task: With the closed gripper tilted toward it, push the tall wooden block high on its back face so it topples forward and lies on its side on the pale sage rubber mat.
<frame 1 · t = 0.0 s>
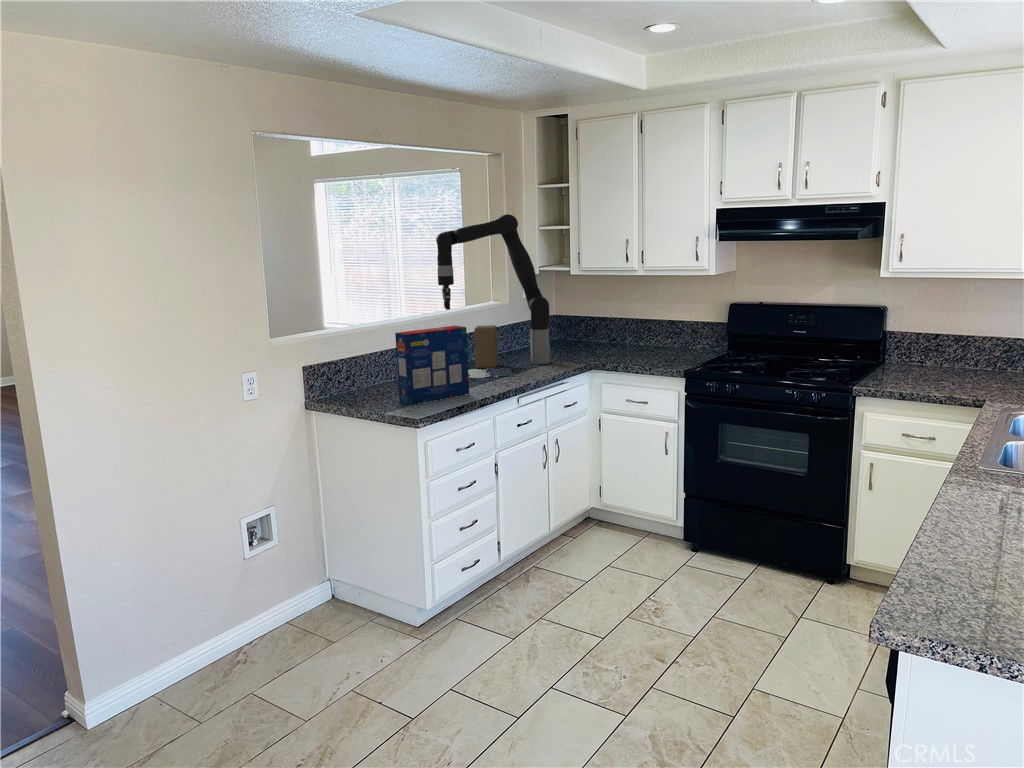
hand: (447, 308, 371), 29 cm above the worktop, tool pointing down, fingers open, 8 cm apart
mat: (489, 373, 361), on the worktop
wooden block: (487, 367, 378), on the worktop
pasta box: (435, 399, 311), on the worktop
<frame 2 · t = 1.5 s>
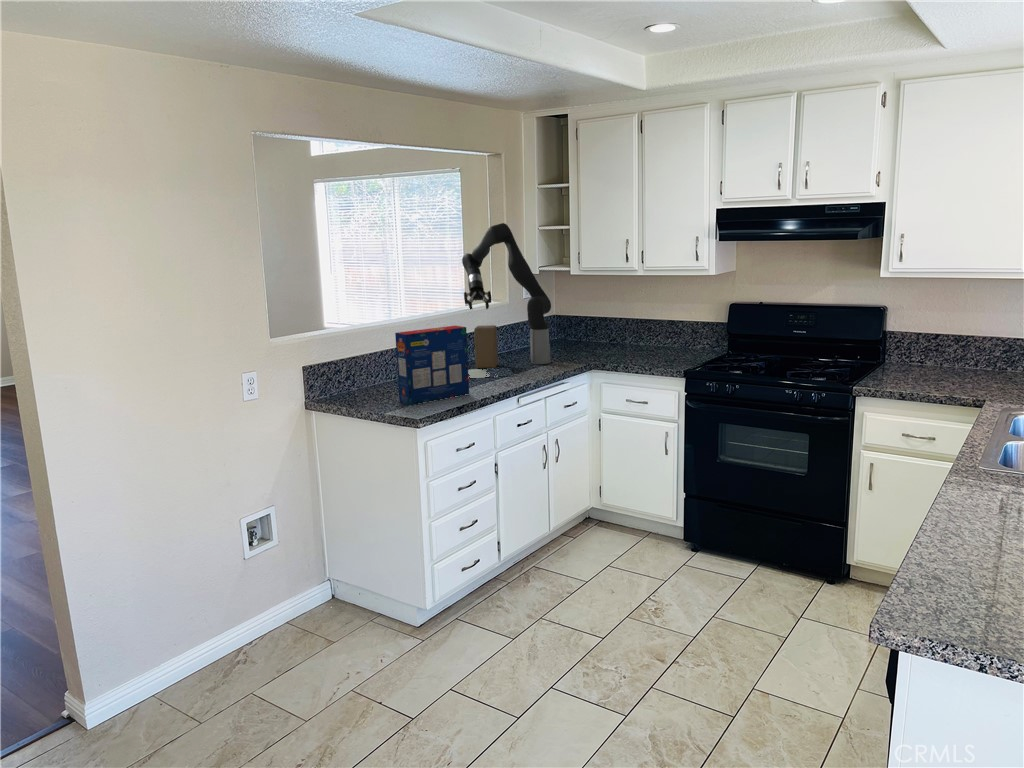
hand: (479, 308, 393), 27 cm above the worktop, tool tilted 45°, fingers open, 7 cm apart
nothing on the worktop moved.
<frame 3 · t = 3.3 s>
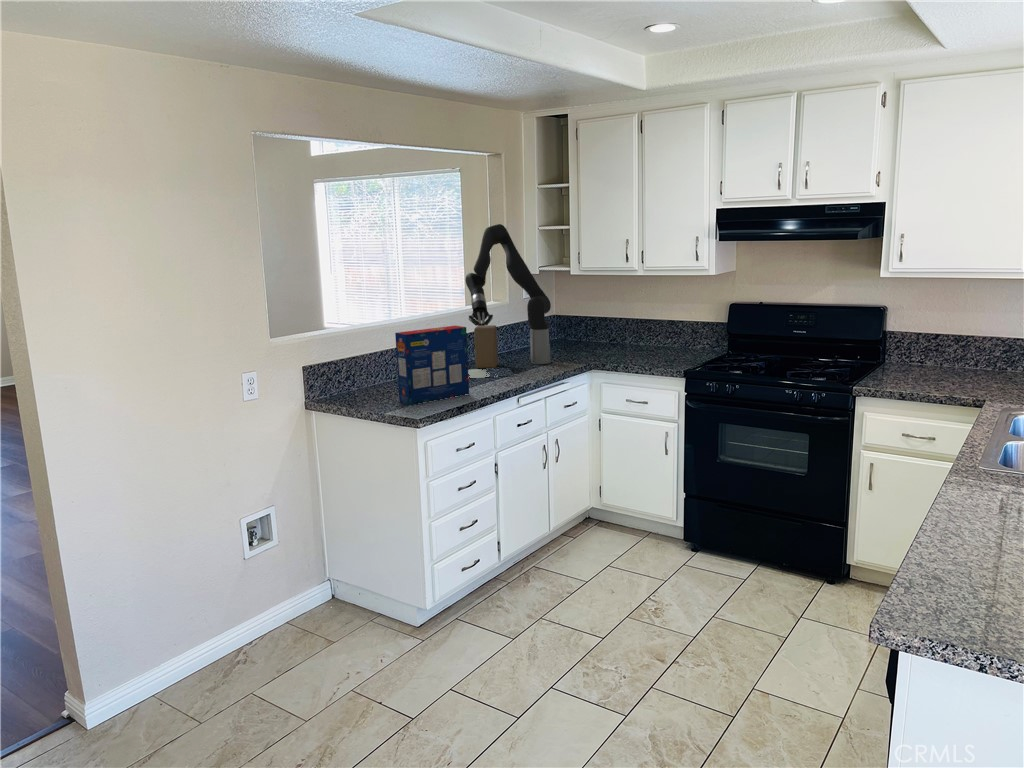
hand: (482, 330, 387), 16 cm above the worktop, tool tilted 45°, fingers closed
nothing on the worktop moved.
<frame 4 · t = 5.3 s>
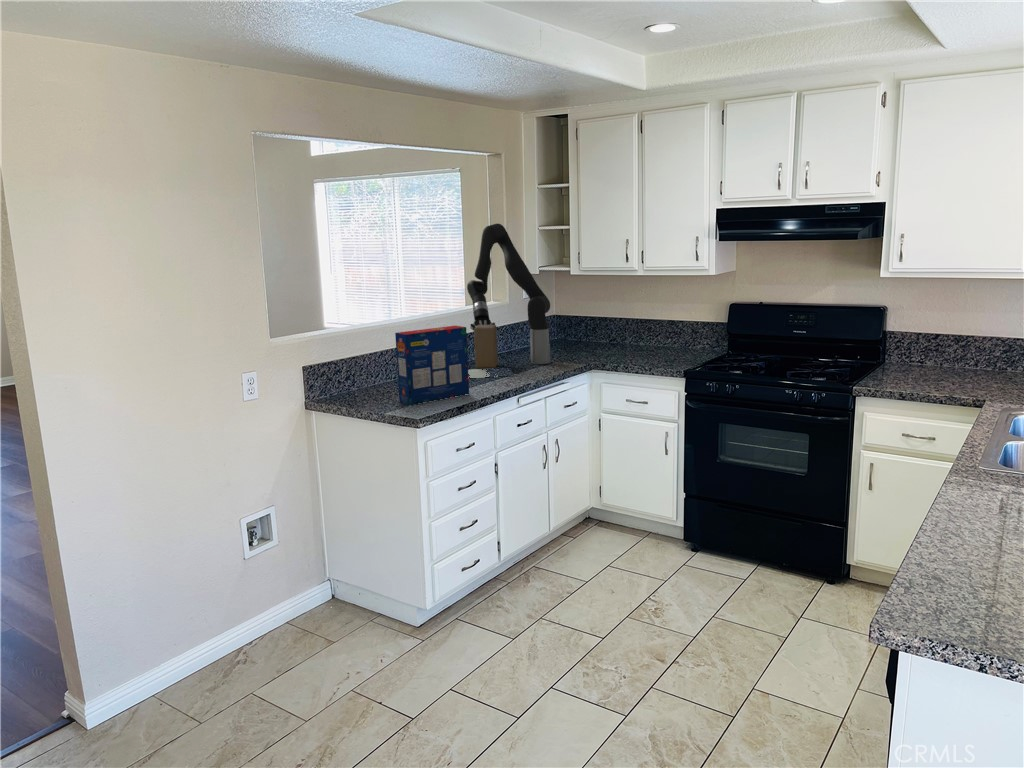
hand: (484, 339, 380), 13 cm above the worktop, tool tilted 45°, fingers closed
wooden block: (487, 366, 378), on the worktop, touching gripper
everything else where it was.
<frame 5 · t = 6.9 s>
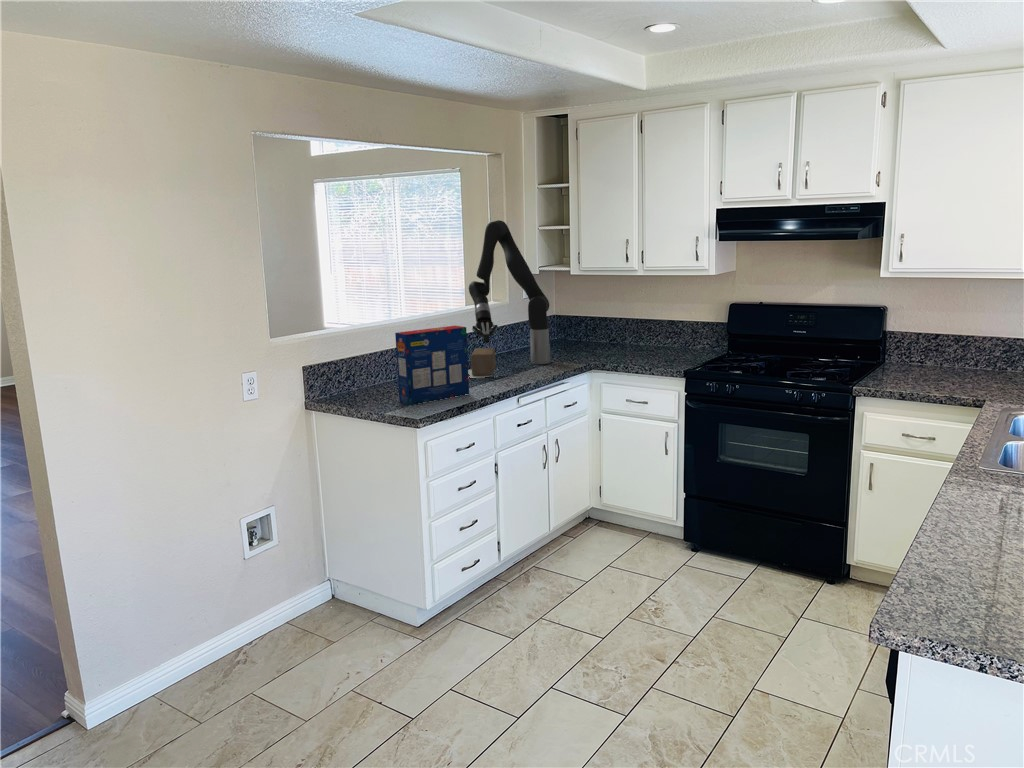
hand: (487, 342, 371), 13 cm above the worktop, tool tilted 45°, fingers closed
wooden block: (485, 357, 372), point 5 cm above the worktop, touching mat
everything else where it was.
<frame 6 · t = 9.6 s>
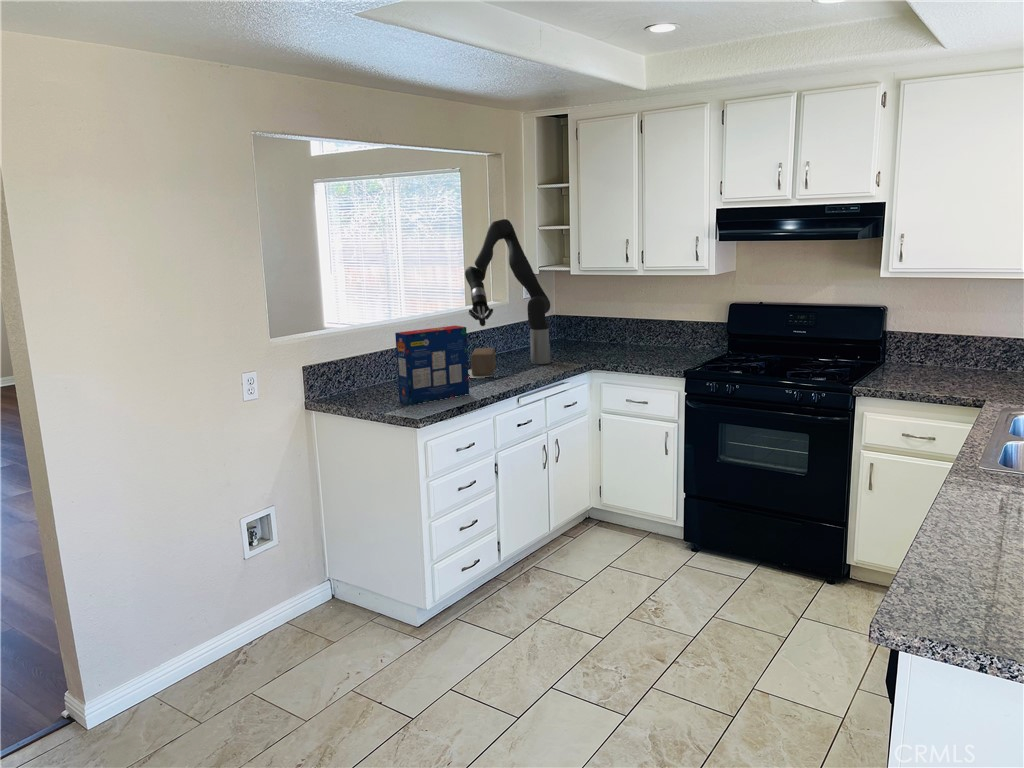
hand: (482, 325, 382), 20 cm above the worktop, tool tilted 45°, fingers closed
nothing on the worktop moved.
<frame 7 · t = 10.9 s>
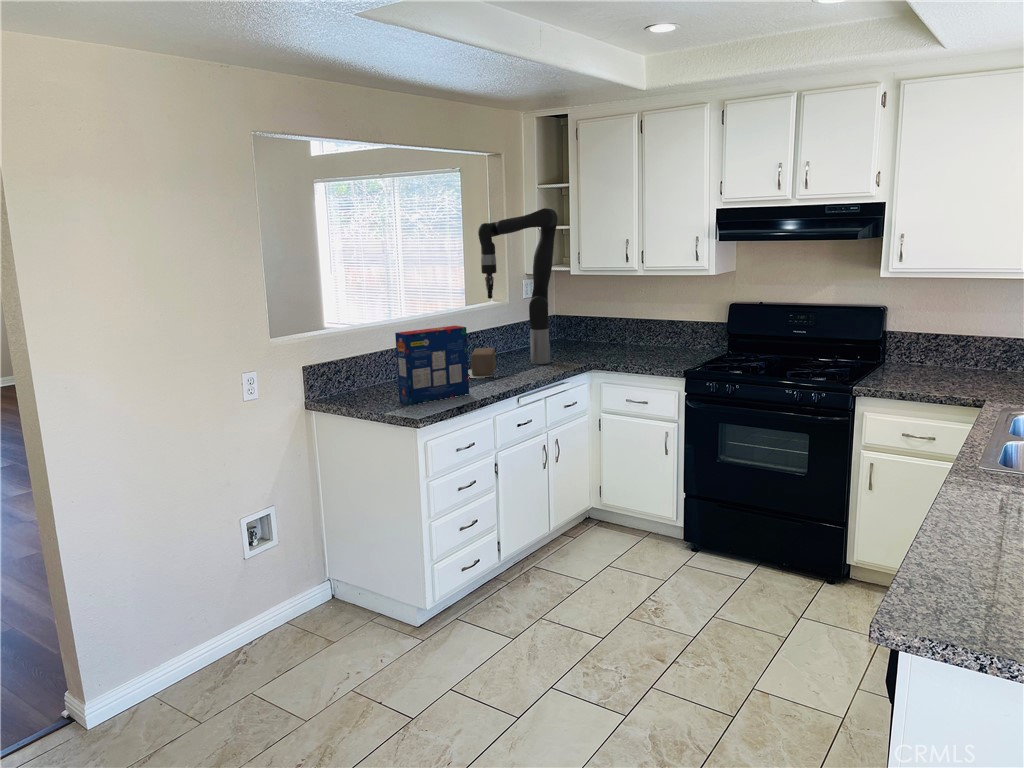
hand: (490, 298, 388), 32 cm above the worktop, tool pointing down, fingers closed
nothing on the worktop moved.
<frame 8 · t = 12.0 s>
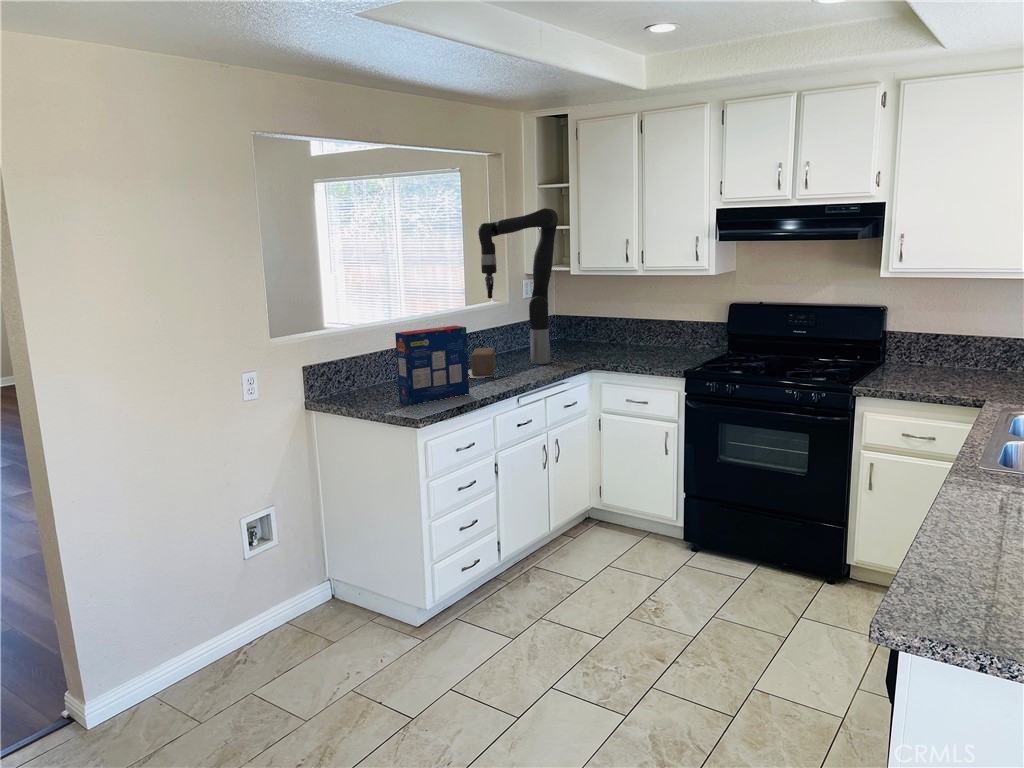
hand: (490, 298, 388), 32 cm above the worktop, tool pointing down, fingers closed
nothing on the worktop moved.
at the end: wooden block tilted 90°; wooden block touching mat; wooden block inside the target area (2.6 cm from its centre), point 5.3 cm above the worktop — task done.
